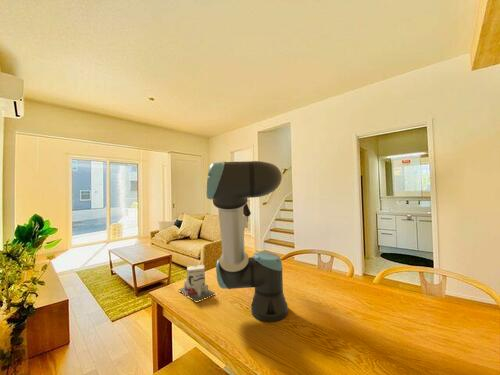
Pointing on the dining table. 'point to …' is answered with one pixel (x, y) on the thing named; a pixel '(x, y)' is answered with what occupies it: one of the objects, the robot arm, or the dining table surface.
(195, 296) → the pin tray
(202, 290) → the ink box
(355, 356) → the dining table surface
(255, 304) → the robot arm
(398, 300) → the dining table surface
